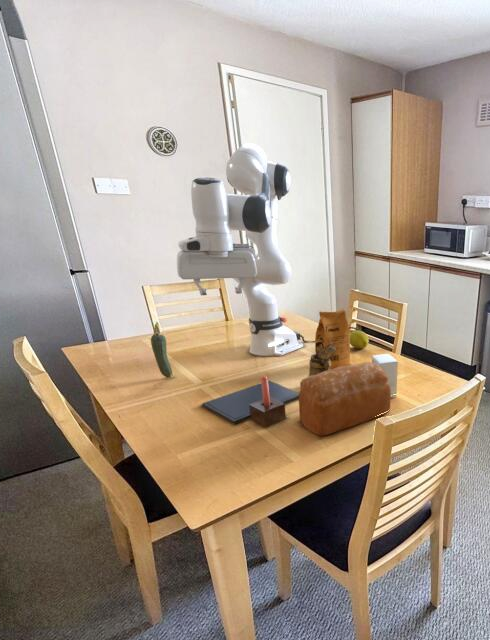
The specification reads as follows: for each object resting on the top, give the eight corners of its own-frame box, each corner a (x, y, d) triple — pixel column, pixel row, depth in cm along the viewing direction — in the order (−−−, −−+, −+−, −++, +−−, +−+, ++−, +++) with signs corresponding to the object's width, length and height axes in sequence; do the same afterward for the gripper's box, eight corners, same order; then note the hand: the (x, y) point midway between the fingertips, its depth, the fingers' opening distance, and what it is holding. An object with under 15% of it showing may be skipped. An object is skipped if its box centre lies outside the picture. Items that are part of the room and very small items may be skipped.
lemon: (372, 350, 180) (372, 332, 177) (357, 353, 175) (357, 335, 172) (359, 343, 187) (359, 326, 184) (344, 346, 183) (344, 329, 179)
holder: (271, 411, 124) (269, 396, 122) (286, 418, 120) (284, 403, 118) (250, 419, 118) (248, 404, 116) (265, 427, 115) (264, 412, 113)
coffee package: (313, 363, 161) (310, 309, 152) (341, 358, 168) (340, 306, 159) (323, 372, 154) (321, 315, 145) (352, 366, 161) (352, 311, 152)
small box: (396, 397, 137) (398, 361, 132) (379, 400, 135) (380, 363, 129) (387, 387, 144) (388, 353, 139) (370, 390, 141) (371, 355, 136)
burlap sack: (318, 399, 133) (316, 347, 126) (303, 384, 143) (300, 335, 136) (343, 393, 138) (342, 343, 130) (327, 379, 148) (325, 332, 140)
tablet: (269, 383, 142) (269, 380, 142) (301, 397, 134) (301, 394, 133) (202, 406, 124) (201, 403, 124) (234, 424, 116) (234, 421, 115)
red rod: (269, 417, 120) (264, 374, 115) (273, 419, 119) (268, 375, 114) (264, 419, 119) (259, 376, 113) (267, 421, 118) (263, 377, 113)
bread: (394, 413, 127) (396, 366, 121) (320, 440, 110) (317, 387, 104) (368, 397, 136) (368, 353, 130) (295, 420, 119) (292, 371, 113)
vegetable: (167, 381, 139) (154, 324, 131) (156, 380, 140) (143, 323, 131) (176, 377, 143) (165, 321, 135) (165, 375, 144) (153, 320, 135)
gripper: (251, 243, 119) (255, 290, 125) (171, 241, 108) (180, 294, 113) (257, 244, 115) (261, 294, 120) (174, 243, 103) (183, 298, 109)
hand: (221, 294), depth 117 cm, fingers open, 8 cm apart
